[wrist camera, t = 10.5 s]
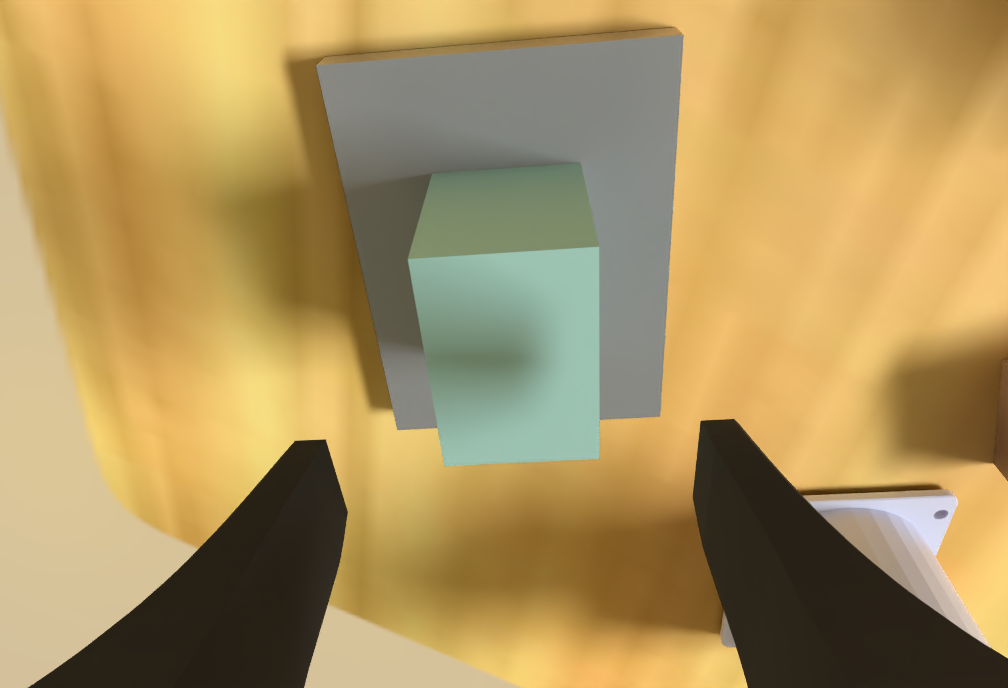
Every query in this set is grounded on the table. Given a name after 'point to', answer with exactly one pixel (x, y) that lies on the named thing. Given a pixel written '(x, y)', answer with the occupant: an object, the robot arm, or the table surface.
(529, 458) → the teal brick
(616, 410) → the slate board
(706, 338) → the table surface
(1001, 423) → the walnut block
